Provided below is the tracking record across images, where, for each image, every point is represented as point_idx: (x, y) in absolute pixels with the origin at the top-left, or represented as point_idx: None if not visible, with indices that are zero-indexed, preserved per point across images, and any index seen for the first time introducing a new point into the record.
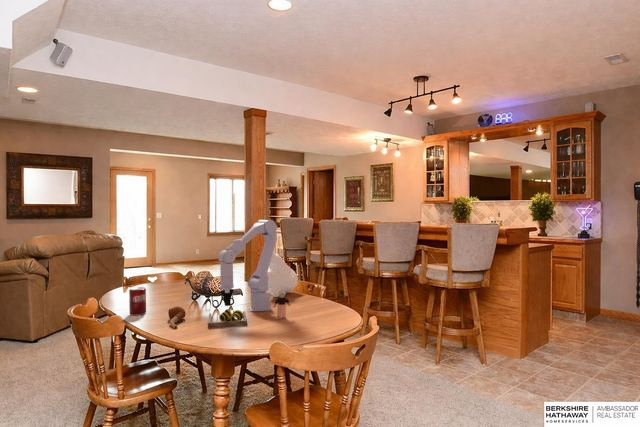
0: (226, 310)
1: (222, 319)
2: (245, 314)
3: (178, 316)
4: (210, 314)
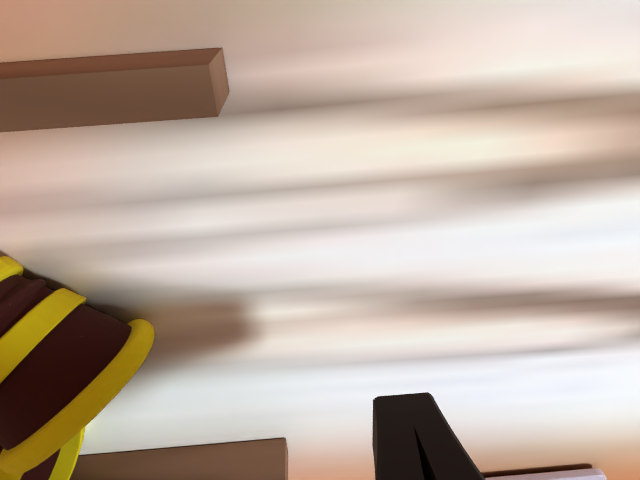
0: (30, 433)
1: (43, 283)
2: None
3: None
4: (122, 105)
